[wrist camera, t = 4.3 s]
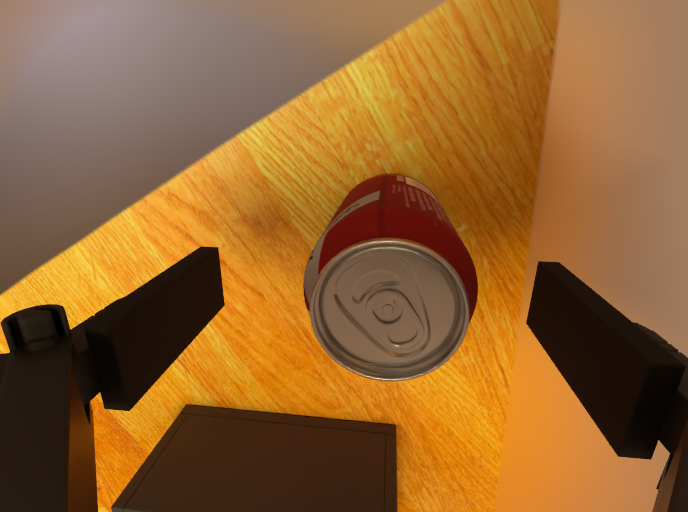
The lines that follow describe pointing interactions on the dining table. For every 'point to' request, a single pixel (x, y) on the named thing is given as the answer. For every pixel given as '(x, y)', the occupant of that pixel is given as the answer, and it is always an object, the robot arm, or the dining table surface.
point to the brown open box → (265, 465)
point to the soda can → (390, 282)
